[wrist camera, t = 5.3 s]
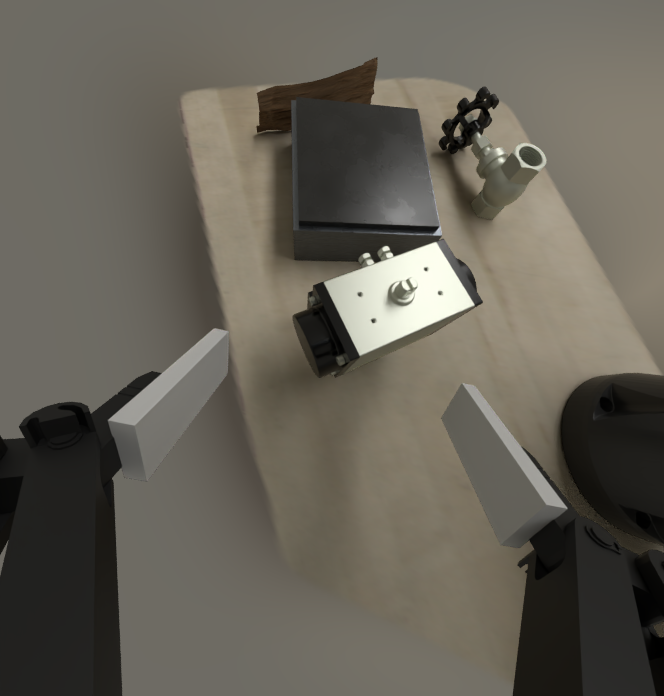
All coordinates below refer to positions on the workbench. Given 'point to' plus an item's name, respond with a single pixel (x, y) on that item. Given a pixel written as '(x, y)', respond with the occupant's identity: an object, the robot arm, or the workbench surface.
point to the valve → (491, 156)
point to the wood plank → (315, 95)
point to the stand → (359, 181)
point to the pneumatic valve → (383, 307)
